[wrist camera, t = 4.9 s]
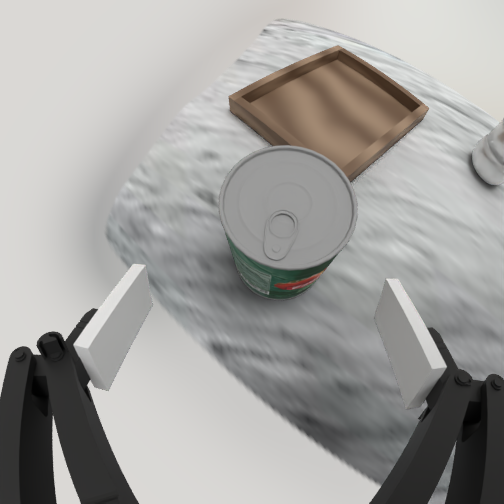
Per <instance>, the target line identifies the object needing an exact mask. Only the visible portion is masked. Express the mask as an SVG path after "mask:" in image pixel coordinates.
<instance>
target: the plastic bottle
mask: <svg viewBox="0 0 504 504" xmlns="http://www.w3.org/2000/svg"><path fill="white" fill-rule="evenodd" d="M472 162H473V166H474V168H475V170H476V172H477V173H478V175H479V176H480V177H481V178H482V179H483V180H484V181H485V182H487V183H488V184H491V185H500V184H502V183H504V119H503V120H502V122H501V123H499V124H498V125H497V126H496V127H495V128H494V129H493V130H492V131H491V132H490V133H489V134H488V135H486V136H484V137H483V138H482V139H481V140H480V141H478V143H477V144H476V146H475V148H474V150H473V153H472Z"/></svg>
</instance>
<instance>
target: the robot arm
mask: <svg viewBox="0 0 504 504" xmlns="http://www.w3.org/2000/svg"><path fill="white" fill-rule="evenodd" d="M152 306H153V303H152V298H151V293H150V287H149V282H148V276H147V270H146V265H141V264H133V265H132V266H131V268H130V269H129V270H128V271H127V273H126V274H125V275H124V276H123V278H122V279H121V280H120V282H119V283H118V284H117V285H116V287H115V288H114V290H113V291H112V292H111V293H110V295H109V296H108V297H107V299H106V300H105V301H104V303H103V304H102V305H101V307H100V308H99V309H94V308H93V309H91V310H90V311H89V312H87V313H86V314H85V315H84V316H83V317H82V319H81V320H80V322H79V323H78V324H77V325H76V328H74V330H73V331H72V332H71V334H70V335H69V336H68V338H67V339H66V341H64V339H63V337H62V335H61V334H60V333H58V332H48V333H46V334H44V335H42V336H41V337H40V338H39V340H38V341H37V348H38V349H39V351H40V353H41V355H33V353H32V352H31V350H30V349H29V348H28V347H24V346H22V347H19V348H17V349H15V350H14V351H13V352H12V353H11V355H10V358H9V362H8V365H7V369H6V374H5V378H4V382H3V387H2V392H1V397H0V504H57V503H56V495H55V485H54V472H53V451H52V419H53V416H54V420H55V425H56V429H57V433H58V436H59V440H60V444H61V447H62V451H63V454H64V457H65V460H66V464H67V467H68V470H69V473H70V475H71V478H72V481H73V484H74V487H75V489H76V492H77V494H78V497H79V499H80V502H81V504H139V503H138V501H137V499H136V498H135V496H134V494H133V492H132V490H131V488H130V487H129V485H128V483H127V481H126V479H125V477H124V475H123V473H122V471H121V469H120V467H119V464H118V463H117V460H116V458H115V456H114V454H113V451H112V449H111V447H110V444H109V442H108V440H107V437H106V435H105V432H104V430H103V427H102V425H101V422H100V419H99V417H98V414H97V411H96V408H95V405H94V403H93V399H92V397H91V393H90V390H89V388H88V386H87V384H88V382H89V381H90V380H91V382H92V383H93V385H94V387H96V388H99V389H102V390H106V391H109V389H110V387H111V385H112V383H113V381H114V378H115V377H116V374H117V372H118V370H119V368H120V366H121V364H122V362H123V360H124V359H125V357H126V354H127V353H128V350H129V349H130V347H131V345H132V343H133V341H134V339H135V337H136V335H137V333H138V332H139V330H140V328H141V326H142V324H143V322H144V320H145V319H146V317H147V315H148V313H149V311H150V309H151V307H152ZM374 320H375V322H376V325H377V327H378V330H379V333H380V335H381V338H382V340H383V343H384V346H385V349H386V351H387V354H388V357H389V360H390V362H391V365H392V368H393V371H394V374H395V377H396V380H397V383H398V386H399V389H400V392H401V395H402V398H403V401H404V405H405V408H406V409H412V408H418V407H420V406H421V405H422V404H423V402H424V401H425V399H426V401H427V404H428V406H427V408H426V409H425V410H424V412H423V413H422V414H421V415H420V417H419V418H418V419H419V420H420V421H419V423H418V425H417V427H416V429H415V431H414V433H413V435H412V437H411V439H410V440H409V442H408V444H407V446H406V448H405V449H404V451H403V453H402V455H401V456H400V458H399V460H398V461H397V463H396V465H395V466H394V468H393V470H392V471H391V473H390V474H389V476H388V477H387V479H386V480H385V482H384V483H383V485H382V486H381V488H380V489H379V491H378V492H377V494H376V495H375V496H374V498H373V499H372V501H371V502H370V503H369V504H427V503H428V501H429V500H430V498H431V496H432V494H433V492H434V490H435V488H436V486H437V484H438V482H439V480H440V478H441V476H442V473H443V471H444V469H445V467H446V464H447V462H448V460H449V457H450V455H451V452H452V450H453V447H454V445H455V442H456V449H455V456H454V462H453V468H452V474H451V479H450V484H449V489H448V493H447V497H446V502H445V504H504V379H503V378H502V377H500V376H499V375H497V374H491V375H489V376H488V377H487V378H486V380H485V381H478V380H473V379H472V377H471V376H470V375H469V373H467V372H466V371H464V370H461V369H458V368H457V366H456V364H455V362H454V360H453V358H452V356H451V354H450V352H449V350H448V349H447V347H446V345H445V343H443V342H444V341H443V340H442V338H441V336H440V334H439V333H438V332H437V331H436V330H435V329H433V328H426V326H425V324H424V322H423V320H422V319H421V317H420V315H419V313H418V312H417V310H416V308H415V306H414V305H413V303H412V301H411V300H410V298H409V296H408V295H407V293H406V291H405V290H404V288H403V286H402V285H401V283H400V282H399V280H398V279H386V280H385V284H384V287H383V291H382V294H381V297H380V300H379V304H378V307H377V310H376V313H375V316H374ZM456 439H457V441H456Z"/></svg>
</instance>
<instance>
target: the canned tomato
mask: <svg viewBox="0 0 504 504" xmlns="http://www.w3.org/2000/svg"><path fill="white" fill-rule="evenodd" d="M219 214H220V219H221V223H222V226H223V228H224V230H225V233H226V236H227V240H228V243H229V245H230V249H231V252H232V255H233V258H234V261H235V264H236V267H237V271H238V273H239V276H240V278H241V279H242V281H243V282H244V283H245V285H246V286H247V287H248V288H249V289H250V290H252V291H253V292H254V293H256V294H258V295H259V296H261V297H264V298H267V299H272V300H288V299H292V298H295V297H297V296H299V295H301V294H303V293H305V292H306V291H307V290H309V289H310V288H311V287H312V286H313V284H314V283H315V282H316V280H317V279H318V278H319V277H320V275H321V274H322V273H323V272H324V271H325V269H326V268H327V267H328V266H329V264H330V263H331V262H332V261H333V259H334V258H335V257H336V256H337V255H338V253H339V252H340V251H341V250H342V249H343V248H344V247H345V245H346V244H347V243H348V242H349V240H350V238H351V236H352V234H353V232H354V229H355V226H356V221H357V200H356V196H355V192H354V190H353V187H352V185H351V183H350V181H349V180H348V178H347V177H346V175H345V174H344V172H343V171H342V170H341V169H340V168H339V167H338V166H337V165H336V164H335V163H334V162H332V161H331V160H329V159H328V158H327V157H325V156H323V155H321V154H319V153H317V152H315V151H313V150H310V149H306V148H303V147H298V146H290V145H282V146H272V147H267V148H263V149H260V150H258V151H255V152H253V153H251V154H249V155H248V156H246V157H244V158H243V159H241V160H240V161H239V162H238V163H237V164H236V165H235V166H234V167H233V168H232V169H231V171H230V172H229V173H228V175H227V176H226V178H225V180H224V182H223V184H222V187H221V191H220V195H219Z"/></svg>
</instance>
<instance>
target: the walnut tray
mask: <svg viewBox="0 0 504 504" xmlns="http://www.w3.org/2000/svg"><path fill="white" fill-rule="evenodd" d="M229 105H230V111H231V112H232V113H233V114H234V115H236V116H237V117H238V118H240V119H241V120H242V121H243V122H245V123H246V124H247V125H248V126H250V127H251V128H252V129H253V130H255V131H256V132H257V133H258V134H259V135H261V136H262V137H263V138H264V139H266V140H267V141H268V142H269V143H270V144H271V145H273V146H282V145H290V146H298V147H303V148H306V149H310V150H313V151H315V152H317V153H319V154H321V155H323V156H325V157H327V158H328V159H329V160H331V161H332V162H334V163H335V164H336V165H337V166H338V167H339V168H340V169H341V170H342V171H343V172H344V174H345V175H346V177H347V178H348V180H349V181H350V182H351V181H353V180H354V179H355V178H356V177H357V176H358V175H360V174H361V173H362V172H363V171H364V170H365V169H367V168H368V167H369V166H370V165H371V164H372V163H374V162H375V161H376V160H377V159H378V158H379V157H380V156H382V155H383V154H384V153H385V152H386V151H387V150H389V149H390V148H391V147H392V146H393V145H394V144H395V143H397V142H398V141H399V140H400V139H401V138H402V137H404V136H405V135H406V134H407V133H408V132H409V131H410V130H412V129H413V128H414V127H415V126H416V125H417V124H418V123H420V122H421V121H422V120H423V118H424V116H425V115H426V113H427V111H428V110H429V108H428V107H427V106H426V105H425V104H424V103H422V102H421V101H420V100H419V99H417V98H416V97H415V96H414V95H412V94H411V93H410V92H408V91H407V90H406V89H404V88H403V87H402V86H400V85H399V84H398V83H396V82H395V81H394V80H392V79H391V78H389V77H388V76H386V75H385V74H384V73H382V72H381V71H379V70H378V69H376V68H375V67H373V66H372V65H370V64H368V63H367V62H365V61H364V60H362V59H360V58H359V57H357V56H356V55H354V54H352V53H351V52H349V51H347V50H345V49H344V48H342V47H340V46H335V47H332V48H330V49H327V50H325V51H322V52H320V53H317V54H315V55H312V56H310V57H308V58H305V59H303V60H301V61H298V62H296V63H294V64H292V65H289V66H287V67H285V68H283V69H281V70H279V71H277V72H274V73H272V74H270V75H268V76H266V77H264V78H262V79H260V80H258V81H256V82H254V83H253V84H251V85H249V86H247V87H245V88H243V89H241V90H239V91H238V92H236V93H234V94H232V95H230V96H229Z"/></svg>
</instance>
